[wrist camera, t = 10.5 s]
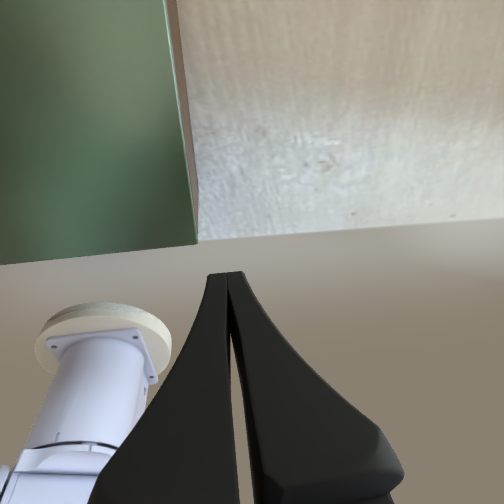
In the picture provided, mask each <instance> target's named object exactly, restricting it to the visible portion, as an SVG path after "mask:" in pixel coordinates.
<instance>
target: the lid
mask: <svg viewBox="0 0 504 504" xmlns="http://www.w3.org/2000/svg"><path fill="white" fill-rule="evenodd" d="M194 244H198V236H197V228H196V221H195V213H194V206H193V199H192V191H191V184H190V177H189V169H188V162H187V155H186V147H185V140H184V133H183V125H182V118H181V111H180V103H179V96H178V89H177V81H176V74H175V67H174V59H173V52H172V45H171V37H170V30H169V22H168V15H167V8H166V0H0V265H6V264H16V263H25V262H34V261H43V260H53V259H62V258H72V257H81V256H91V255H101V254H110V253H119V252H129V251H138V250H147V249H157V248H166V247H175V246H185V245H194Z"/></svg>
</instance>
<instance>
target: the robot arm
mask: <svg viewBox="0 0 504 504" xmlns="http://www.w3.org/2000/svg"><path fill="white" fill-rule="evenodd" d="M230 333H231V338H232V343H233V348H234V353H235V358H236V363H237V368H238V373H239V378H240V383H241V389H242V396H243V404H244V412H245V422H246V430H247V440H248V449H249V459H250V468H251V477H252V487H253V496H254V504H394V502H393V500H392V497H391V495H390V493H389V492H390V491H392V490H393V489H394V488H395V487H396V486H397V485H398V484H399V483H400V482H401V481H402V480H403V478H404V471H403V468H402V467H401V464H400V462H399V460H398V458H397V456H396V454H395V452H394V451H393V449H392V447H391V445H390V444H389V442H388V440H387V439H386V437H385V436H384V434H383V432H382V431H381V429H380V428H379V427H378V426H377V425H376V424H375V423H373V422H372V421H371V420H370V419H368V418H367V417H366V416H365V415H363V414H362V413H361V412H360V411H359V410H357V409H356V408H355V407H354V406H353V405H351V404H350V403H349V402H348V401H347V400H345V399H344V398H343V397H342V396H341V395H340V394H339V393H338V392H336V391H335V390H334V389H333V388H332V387H331V386H330V385H329V384H328V383H326V381H325V380H324V379H322V377H320V376H319V375H318V374H317V373H316V372H315V371H314V370H313V369H312V368H311V367H310V366H309V365H308V364H307V363H306V362H305V361H304V360H303V358H301V356H300V355H299V354H298V353H297V352H296V351H295V350H294V348H292V346H291V345H290V344H289V343H288V342H287V340H286V339H285V338H284V337H283V336H282V334H281V333H280V332H279V330H278V329H277V328H276V326H275V325H274V324H273V322H272V321H271V319H270V318H269V317H268V316H267V314H266V312H265V311H264V309H263V308H262V306H261V304H260V303H259V301H258V300H257V298H256V296H255V295H254V293H253V291H252V289H251V287H250V285H249V283H248V282H247V279H246V277H245V274H244V273H243V272H242V271H238V272H228V273H217V274H209V275H208V276H207V282H206V287H205V291H204V295H203V299H202V301H201V305H200V307H199V310H198V313H197V316H196V318H195V321H194V323H193V326H192V328H191V331H190V333H189V335H188V337H187V339H186V342H185V344H184V346H183V348H182V350H181V352H180V354H179V356H178V357H177V359H176V361H175V363H174V365H173V367H172V369H171V370H170V372H169V374H168V375H167V377H166V379H165V381H164V382H163V384H162V386H161V387H160V389H159V390H158V392H157V394H156V395H155V397H154V398H153V400H152V401H151V403H150V404H149V406H148V407H147V409H146V410H145V405H146V399H147V392H148V385H151V384H156V383H157V382H158V376H157V374H156V371H155V369H154V366H153V363H152V361H151V358H150V355H149V353H148V350H147V348H146V345H145V342H144V340H143V337H142V334H141V332H140V330H139V329H138V328H126V329H117V330H108V331H99V332H90V333H81V334H72V335H63V336H54V337H48V338H47V339H46V341H45V344H46V345H47V347H48V348H49V349H50V351H51V352H52V353H53V355H54V356H55V357H56V359H57V360H58V362H59V363H60V364H59V366H58V368H57V371H56V373H55V375H54V377H53V380H52V382H51V385H50V387H49V389H48V391H47V394H46V396H45V398H44V400H43V403H42V405H41V407H40V410H39V412H38V414H37V417H36V419H35V421H34V424H33V426H32V428H31V430H30V433H29V435H28V437H27V440H26V442H25V444H24V446H23V449H22V451H21V453H20V455H19V456H18V458H17V460H16V462H15V463H14V466H13V467H12V469H11V471H10V468H11V466H10V465H1V466H0V504H240V500H239V488H238V476H237V465H236V453H235V442H234V429H233V418H232V405H231V387H230V385H231V380H230V379H231V376H230V373H231V371H230V368H231V367H230ZM9 471H10V472H9Z"/></svg>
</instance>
